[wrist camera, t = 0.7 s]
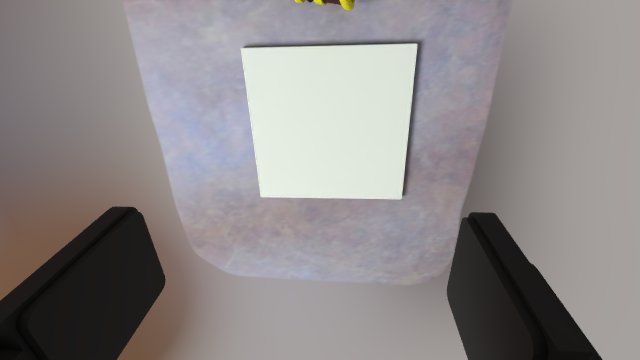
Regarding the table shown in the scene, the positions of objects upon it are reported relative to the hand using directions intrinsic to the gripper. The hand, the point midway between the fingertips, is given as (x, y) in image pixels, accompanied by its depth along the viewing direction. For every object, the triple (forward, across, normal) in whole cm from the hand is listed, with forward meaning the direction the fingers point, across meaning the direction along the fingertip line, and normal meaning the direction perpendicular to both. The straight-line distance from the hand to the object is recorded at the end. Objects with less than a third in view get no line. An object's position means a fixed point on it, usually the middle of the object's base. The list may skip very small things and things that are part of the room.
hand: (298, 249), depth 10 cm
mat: (+24, 0, +5) cm, 25 cm away
